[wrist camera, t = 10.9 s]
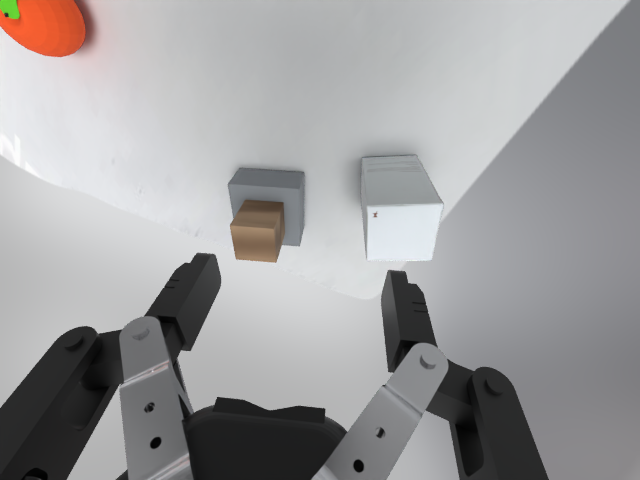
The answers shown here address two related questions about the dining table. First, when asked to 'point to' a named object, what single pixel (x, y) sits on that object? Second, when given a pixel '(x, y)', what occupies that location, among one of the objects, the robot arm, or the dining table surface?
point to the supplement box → (398, 209)
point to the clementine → (44, 25)
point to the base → (272, 196)
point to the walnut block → (258, 230)
